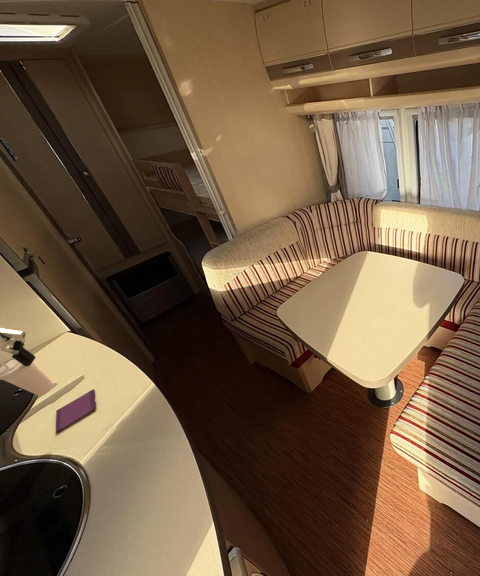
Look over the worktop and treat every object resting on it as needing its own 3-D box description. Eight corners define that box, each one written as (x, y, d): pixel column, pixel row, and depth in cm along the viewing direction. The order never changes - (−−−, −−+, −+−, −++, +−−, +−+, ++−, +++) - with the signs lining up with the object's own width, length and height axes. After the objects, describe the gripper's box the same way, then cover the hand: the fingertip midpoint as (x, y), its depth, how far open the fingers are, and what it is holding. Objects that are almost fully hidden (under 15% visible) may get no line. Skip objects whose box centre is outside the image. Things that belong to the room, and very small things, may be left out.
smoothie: (25, 397, 78) (-30, 363, 70) (52, 376, 83) (4, 341, 74) (38, 403, 76) (-18, 368, 67) (65, 381, 80) (17, 346, 72)
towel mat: (57, 433, 81) (55, 432, 80) (58, 411, 87) (56, 410, 86) (96, 409, 85) (95, 408, 84) (94, 390, 91) (93, 389, 90)
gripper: (-136, 343, 58) (-40, 396, 69) (-27, 309, 62) (48, 364, 73) (-103, 319, 64) (-19, 371, 75) (-5, 289, 67) (61, 343, 78)
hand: (13, 367), depth 74 cm, fingers closed on smoothie, 6 cm apart
